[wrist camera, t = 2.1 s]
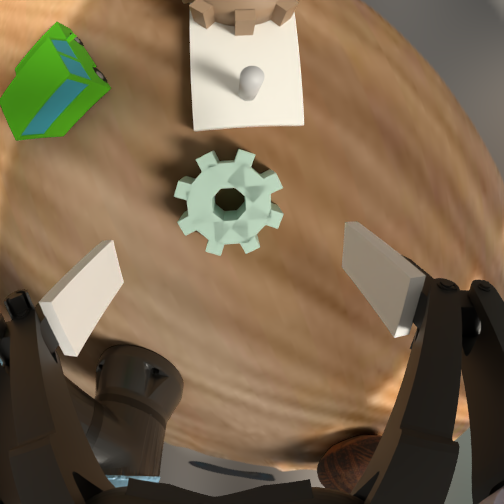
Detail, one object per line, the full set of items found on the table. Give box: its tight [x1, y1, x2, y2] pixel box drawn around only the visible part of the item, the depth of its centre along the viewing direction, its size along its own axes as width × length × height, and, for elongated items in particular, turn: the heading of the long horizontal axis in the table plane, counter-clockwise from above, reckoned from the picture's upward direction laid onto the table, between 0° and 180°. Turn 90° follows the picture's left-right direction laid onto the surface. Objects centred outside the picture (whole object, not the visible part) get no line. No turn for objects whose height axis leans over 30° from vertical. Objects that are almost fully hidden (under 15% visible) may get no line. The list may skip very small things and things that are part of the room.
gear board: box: [182, 0, 304, 131], centre depth 18 cm, size 12×23×9 cm, turn 3°
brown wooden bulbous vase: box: [317, 435, 382, 494], centre depth 42 cm, size 22×22×30 cm
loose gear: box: [174, 149, 283, 256], centre depth 27 cm, size 10×10×4 cm
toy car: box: [0, 22, 111, 141], centre depth 17 cm, size 10×13×10 cm
